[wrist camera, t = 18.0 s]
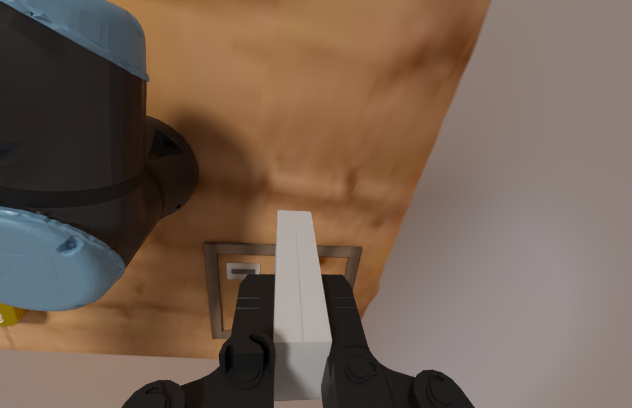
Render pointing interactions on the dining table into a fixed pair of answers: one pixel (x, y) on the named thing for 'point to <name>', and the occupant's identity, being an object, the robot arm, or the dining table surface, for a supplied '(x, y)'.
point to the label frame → (256, 271)
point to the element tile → (11, 315)
